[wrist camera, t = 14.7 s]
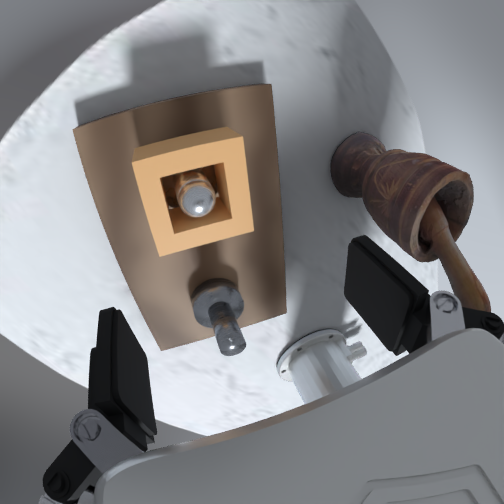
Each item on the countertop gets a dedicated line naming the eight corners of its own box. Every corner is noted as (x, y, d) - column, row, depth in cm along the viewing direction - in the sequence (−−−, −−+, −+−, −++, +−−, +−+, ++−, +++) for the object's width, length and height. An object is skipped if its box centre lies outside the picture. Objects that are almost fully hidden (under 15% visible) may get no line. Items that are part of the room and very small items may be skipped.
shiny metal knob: (235, 271, 30) (258, 319, 25) (241, 307, 33) (262, 354, 28) (185, 286, 29) (198, 338, 24) (197, 320, 32) (211, 370, 27)
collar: (226, 126, 20) (243, 136, 17) (238, 208, 24) (254, 231, 21) (134, 148, 19) (131, 162, 16) (156, 229, 23) (159, 256, 20)
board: (262, 83, 23) (271, 84, 21) (280, 302, 38) (286, 313, 36) (78, 126, 20) (72, 129, 18) (159, 338, 35) (161, 350, 33)
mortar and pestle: (400, 187, 34) (523, 276, 19) (354, 230, 35) (469, 342, 20) (367, 114, 27) (539, 189, 12) (310, 162, 28) (475, 280, 13)
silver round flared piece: (211, 133, 22) (236, 155, 16) (221, 192, 25) (246, 231, 19) (147, 149, 21) (146, 177, 15) (161, 207, 24) (168, 253, 18)
